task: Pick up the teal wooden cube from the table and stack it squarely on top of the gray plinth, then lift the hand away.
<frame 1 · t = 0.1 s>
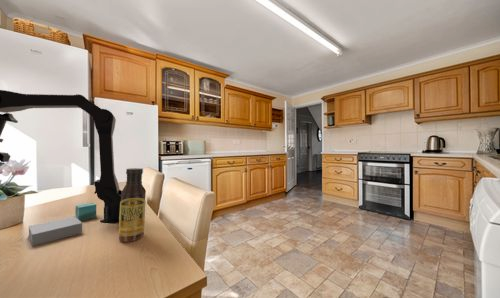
teal cube: (85, 218, 70), on the table
gray plinth: (55, 234, 56), on the table
sauce bottle: (132, 238, 53), on the table
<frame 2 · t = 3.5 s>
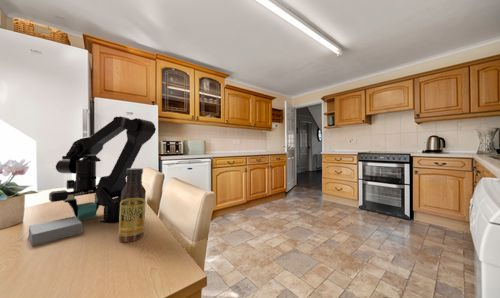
hand: (85, 214, 70), 1 cm above the table, tool pointing down, fingers closed on teal cube, 5 cm apart
teal cube: (85, 217, 70), on the table, touching gripper
everything else where it was.
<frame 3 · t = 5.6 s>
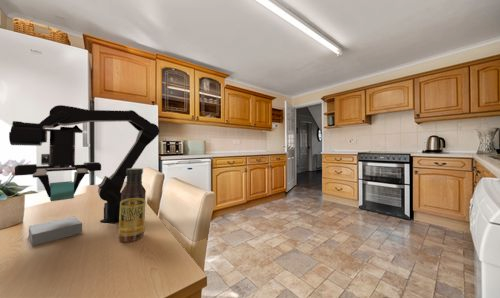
hand: (61, 195, 59), 11 cm above the table, tool pointing down, fingers closed on teal cube, 5 cm apart
teal cube: (61, 198, 59), point 10 cm above the table, touching gripper
everything else where it was.
when the fingers open (5 cm above the table, at t = 7.6 s): teal cube drops 1 cm, resting on gray plinth.
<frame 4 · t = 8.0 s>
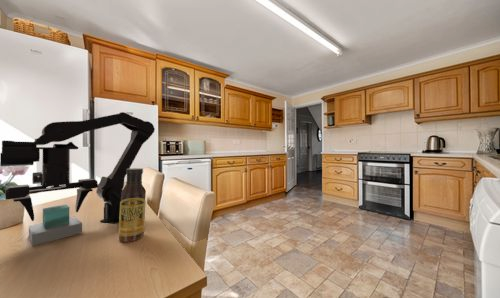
hand: (56, 216, 56), 6 cm above the table, tool pointing down, fingers open, 9 cm apart
teal cube: (56, 224, 56), point 3 cm above the table, touching gray plinth
everything else where it was.
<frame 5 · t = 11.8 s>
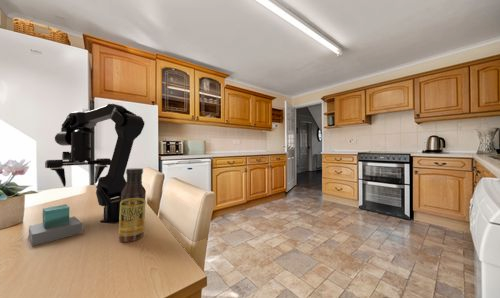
hand: (80, 184, 73), 12 cm above the table, tool pointing down, fingers open, 9 cm apart
nothing on the table moved.
at the end: teal cube 0.1 cm off-centre on the gray plinth, point 3.0 cm above the gray plinth's base; teal cube tilted 0°; the gripper is holding nothing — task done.
